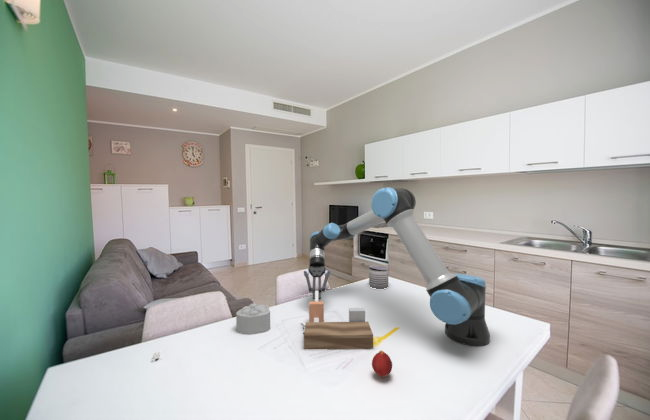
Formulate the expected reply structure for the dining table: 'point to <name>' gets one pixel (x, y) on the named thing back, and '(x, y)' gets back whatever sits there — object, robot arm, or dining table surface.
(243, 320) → the lumpy-topped squat cylinder
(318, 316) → the peach rectangular block
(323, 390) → the dining table surface
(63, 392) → the dining table surface
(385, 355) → the red oval fruit
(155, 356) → the adhesive hook
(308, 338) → the plunger housing
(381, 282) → the can
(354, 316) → the grey plunger
